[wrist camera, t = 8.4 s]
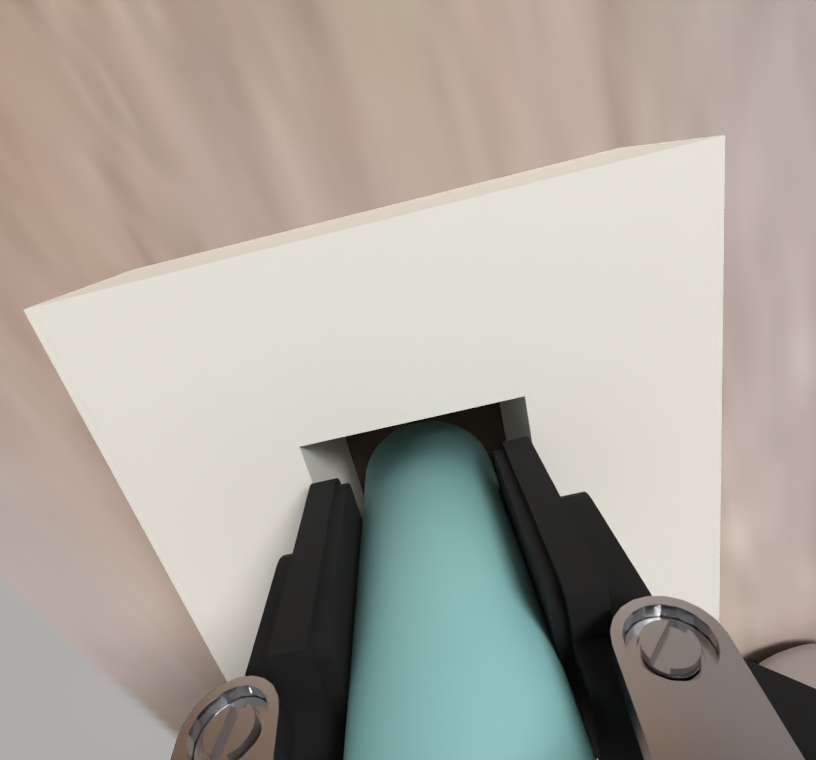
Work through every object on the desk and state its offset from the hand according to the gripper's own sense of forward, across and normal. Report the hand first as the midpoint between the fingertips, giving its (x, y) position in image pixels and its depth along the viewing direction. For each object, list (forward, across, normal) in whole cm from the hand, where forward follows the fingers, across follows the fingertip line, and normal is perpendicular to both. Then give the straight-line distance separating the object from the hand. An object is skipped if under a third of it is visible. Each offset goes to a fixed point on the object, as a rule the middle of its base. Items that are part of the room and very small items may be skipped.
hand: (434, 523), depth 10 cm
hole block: (+4, 0, 0) cm, 4 cm away
